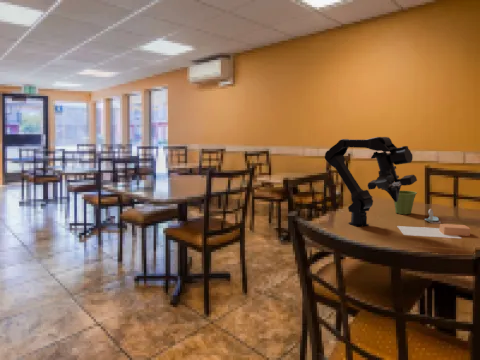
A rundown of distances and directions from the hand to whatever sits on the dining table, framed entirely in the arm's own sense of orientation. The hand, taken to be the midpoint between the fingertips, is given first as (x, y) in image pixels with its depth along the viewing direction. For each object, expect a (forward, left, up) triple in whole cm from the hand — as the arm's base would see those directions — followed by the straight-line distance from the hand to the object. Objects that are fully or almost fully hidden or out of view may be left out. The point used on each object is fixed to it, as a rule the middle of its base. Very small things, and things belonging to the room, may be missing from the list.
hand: (396, 201), depth 137 cm
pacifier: (-4, +26, -13) cm, 30 cm away
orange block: (+11, +14, -11) cm, 20 cm away
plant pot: (-23, +29, -13) cm, 39 cm away
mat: (+8, +9, -12) cm, 17 cm away
